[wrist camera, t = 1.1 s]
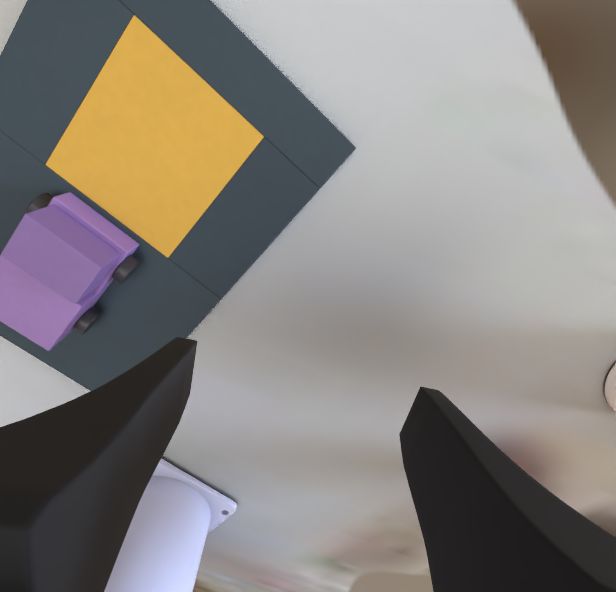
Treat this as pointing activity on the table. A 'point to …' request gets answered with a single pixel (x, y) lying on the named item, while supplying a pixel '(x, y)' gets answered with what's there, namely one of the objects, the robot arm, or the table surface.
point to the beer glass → (611, 388)
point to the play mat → (154, 158)
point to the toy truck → (60, 268)
